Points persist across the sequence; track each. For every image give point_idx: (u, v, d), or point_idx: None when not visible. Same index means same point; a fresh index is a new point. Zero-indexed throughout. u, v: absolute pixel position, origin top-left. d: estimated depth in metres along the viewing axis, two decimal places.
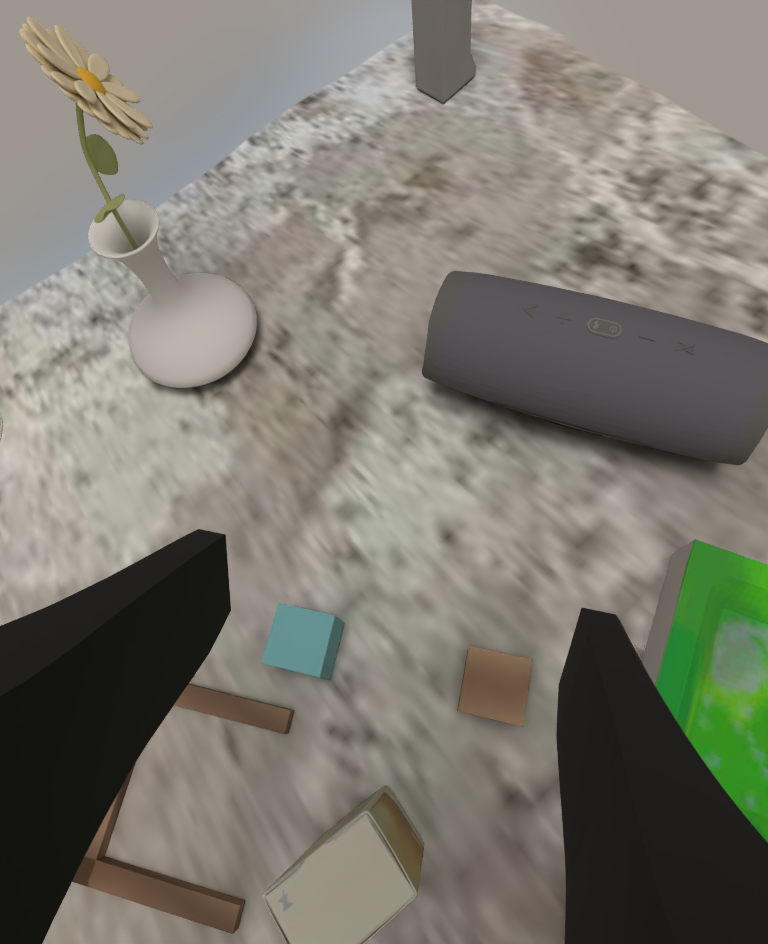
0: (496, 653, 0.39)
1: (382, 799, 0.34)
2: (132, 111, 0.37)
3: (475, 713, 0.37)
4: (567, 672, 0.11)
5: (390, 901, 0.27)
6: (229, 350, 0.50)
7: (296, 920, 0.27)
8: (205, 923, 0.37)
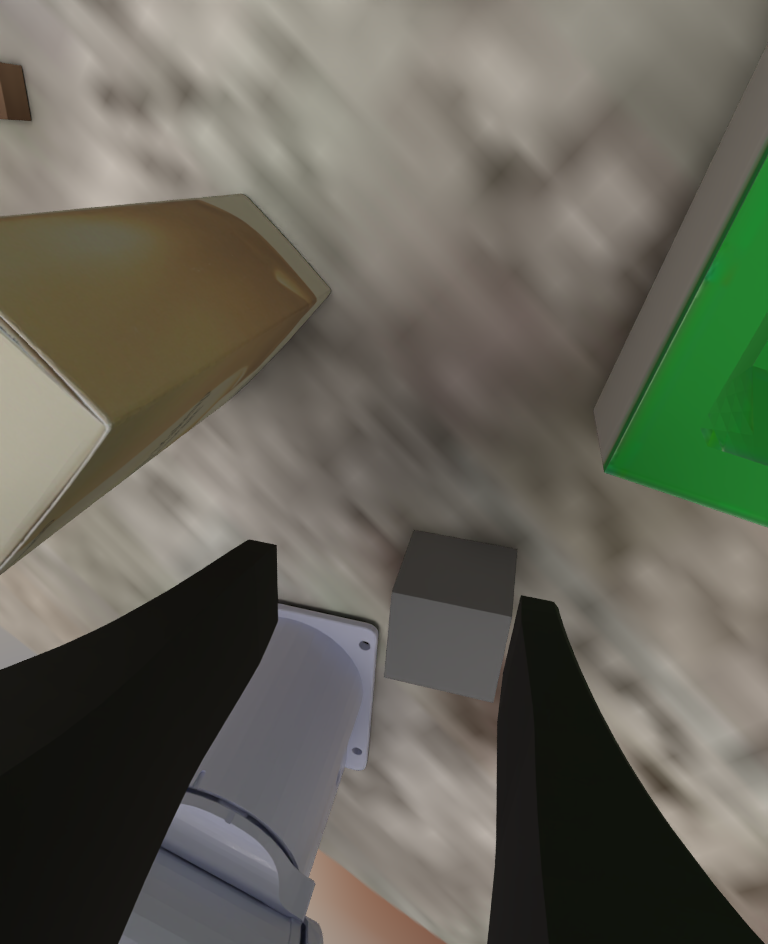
0: None
1: (147, 209, 0.14)
2: None
3: None
4: (508, 659, 0.11)
5: (51, 446, 0.10)
6: None
7: None
8: None
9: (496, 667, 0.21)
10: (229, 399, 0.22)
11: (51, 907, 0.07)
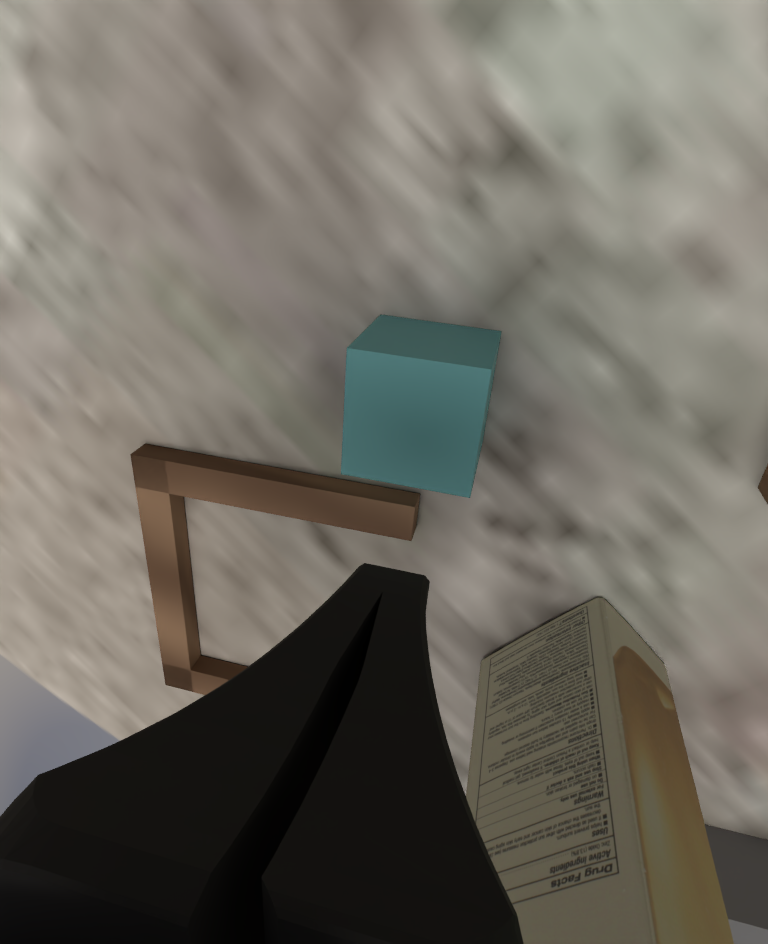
0: None
1: (627, 724, 0.18)
2: None
3: None
4: None
5: None
6: None
7: None
8: None
9: None
10: None
11: None
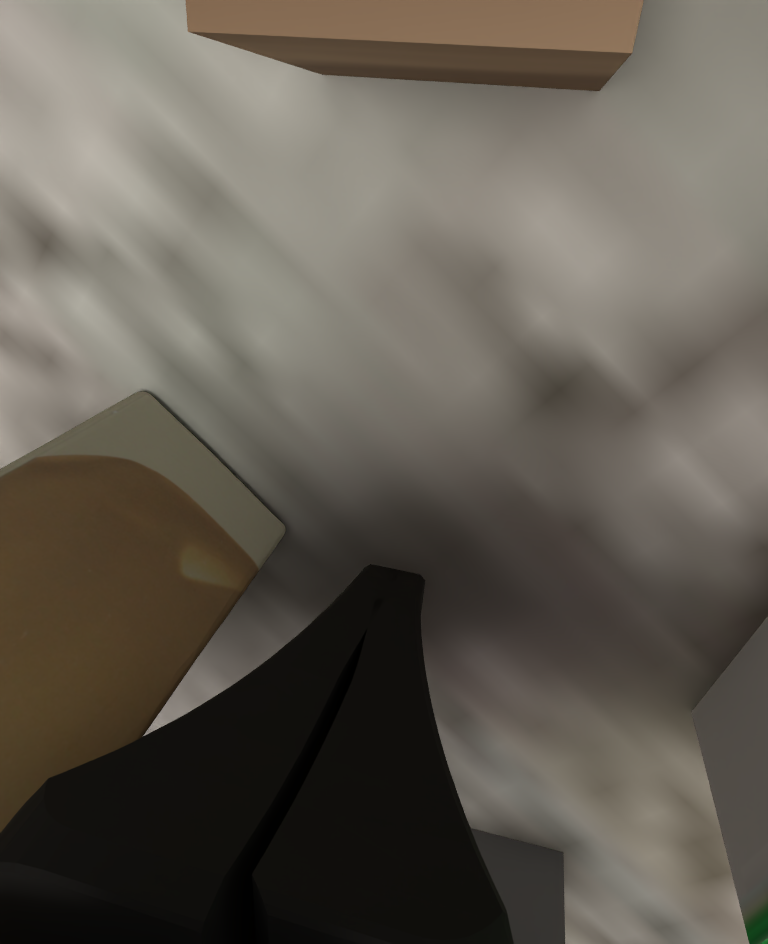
0: None
1: None
2: None
3: (295, 24, 0.05)
4: None
5: None
6: None
7: None
8: None
9: None
10: None
11: None
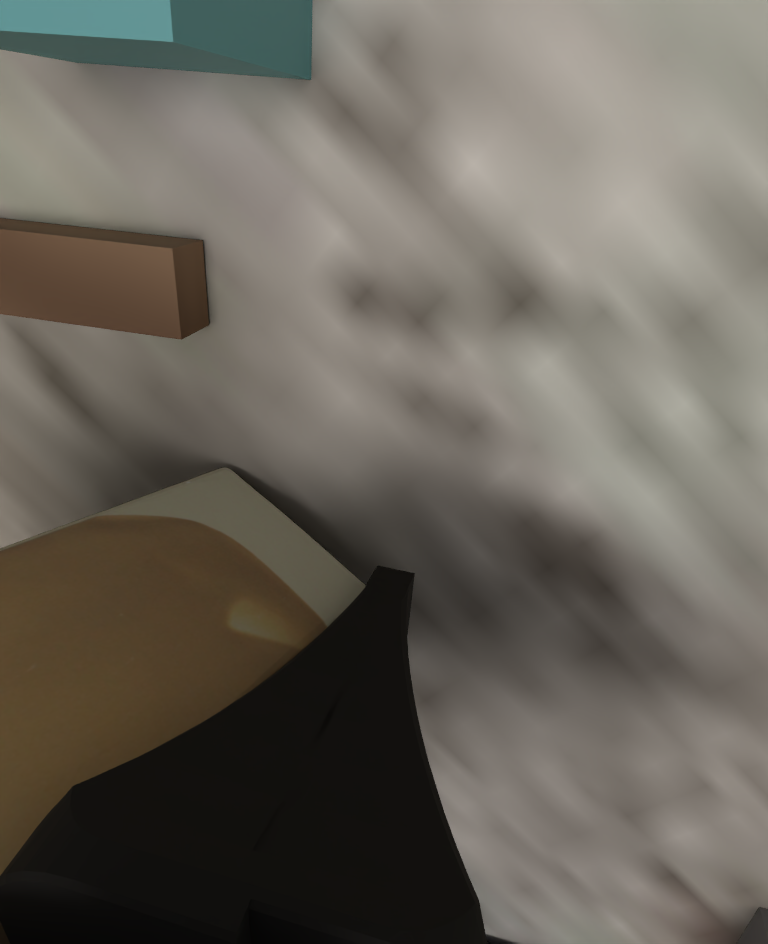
0: None
1: None
2: None
3: None
4: None
5: None
6: None
7: None
8: None
9: None
10: None
11: None
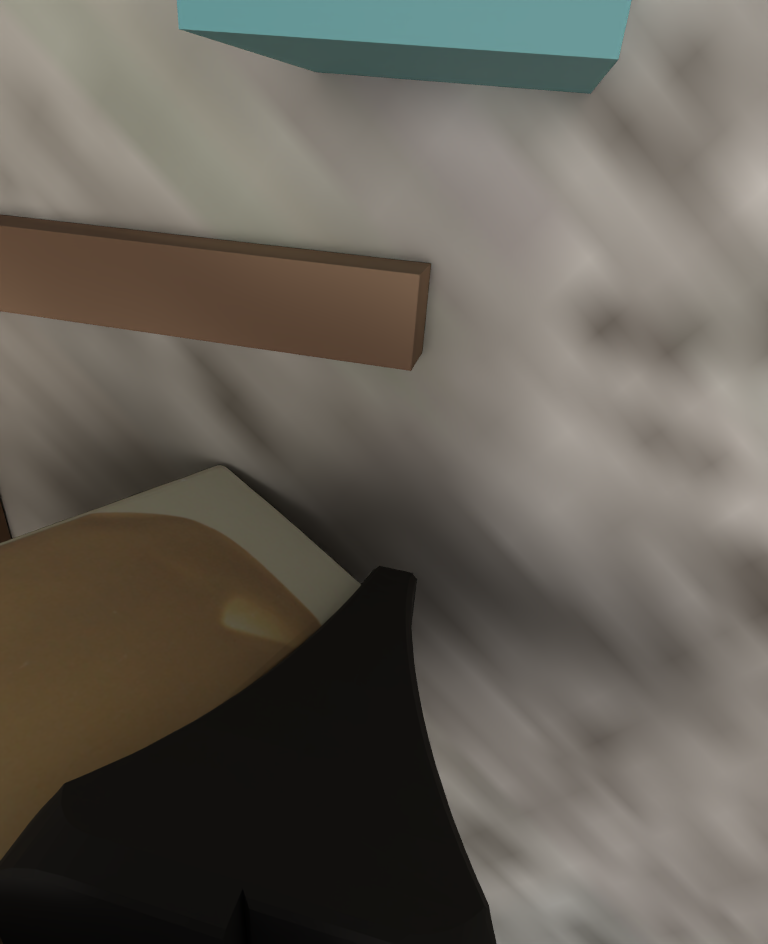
0: None
1: None
2: None
3: None
4: None
5: None
6: None
7: None
8: None
9: None
10: None
11: None
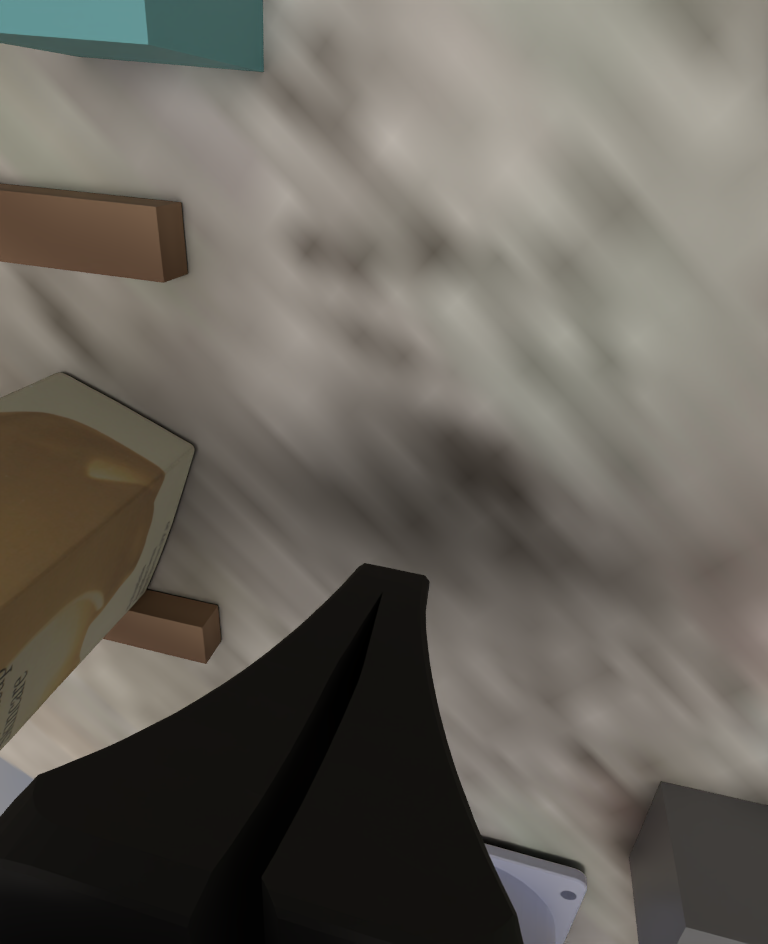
0: None
1: None
2: None
3: None
4: None
5: None
6: None
7: None
8: (152, 649, 0.19)
9: None
10: (140, 594, 0.19)
11: None
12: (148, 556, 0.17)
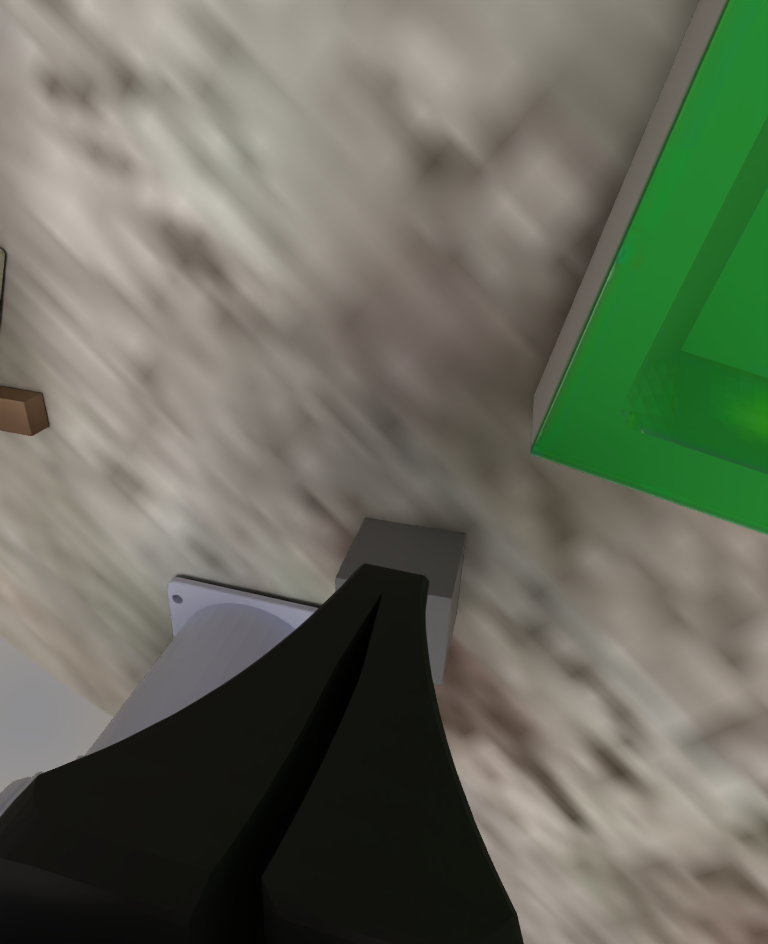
0: None
1: None
2: None
3: None
4: None
5: None
6: None
7: None
8: None
9: (442, 649, 0.21)
10: None
11: None
12: None
